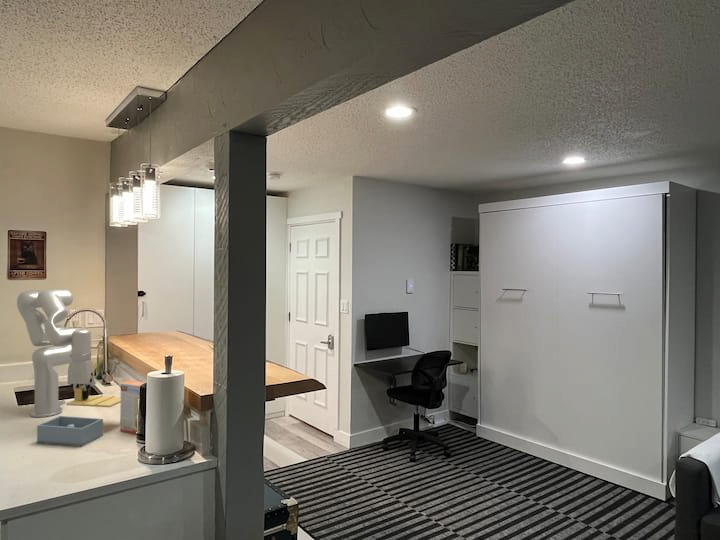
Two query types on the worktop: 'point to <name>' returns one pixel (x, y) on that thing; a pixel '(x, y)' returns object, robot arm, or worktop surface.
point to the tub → (70, 430)
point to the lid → (93, 400)
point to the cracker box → (129, 406)
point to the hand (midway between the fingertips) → (81, 398)
